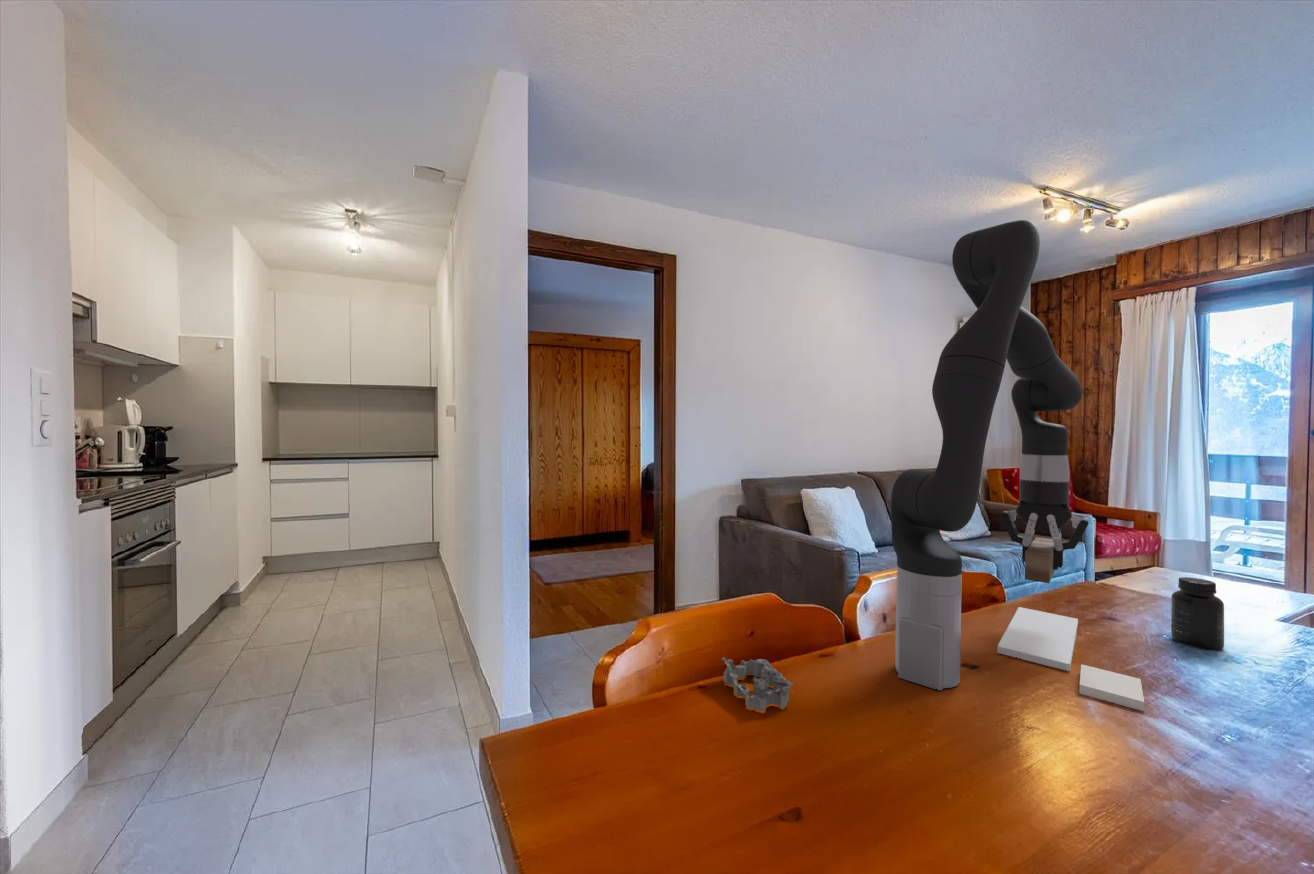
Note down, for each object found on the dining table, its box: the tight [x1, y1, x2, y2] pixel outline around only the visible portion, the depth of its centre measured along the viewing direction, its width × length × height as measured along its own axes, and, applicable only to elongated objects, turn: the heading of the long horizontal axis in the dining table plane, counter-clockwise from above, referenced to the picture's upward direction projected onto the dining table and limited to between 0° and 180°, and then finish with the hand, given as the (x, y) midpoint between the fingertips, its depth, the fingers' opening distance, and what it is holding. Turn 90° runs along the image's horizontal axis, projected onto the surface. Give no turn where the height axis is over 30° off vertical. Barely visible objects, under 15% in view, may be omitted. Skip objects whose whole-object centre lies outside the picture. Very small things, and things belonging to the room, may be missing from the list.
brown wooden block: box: [1024, 536, 1056, 584], centre depth 95 cm, size 18×4×5 cm, turn 137°
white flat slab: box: [1078, 663, 1145, 712], centre depth 76 cm, size 2×7×9 cm
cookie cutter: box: [721, 656, 794, 711], centre depth 74 cm, size 11×8×4 cm
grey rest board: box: [996, 606, 1079, 672], centre depth 95 cm, size 28×10×1 cm, turn 137°
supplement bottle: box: [1170, 576, 1225, 651], centre depth 94 cm, size 7×7×12 cm
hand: (1042, 566), depth 95 cm, fingers closed on brown wooden block, 3 cm apart
